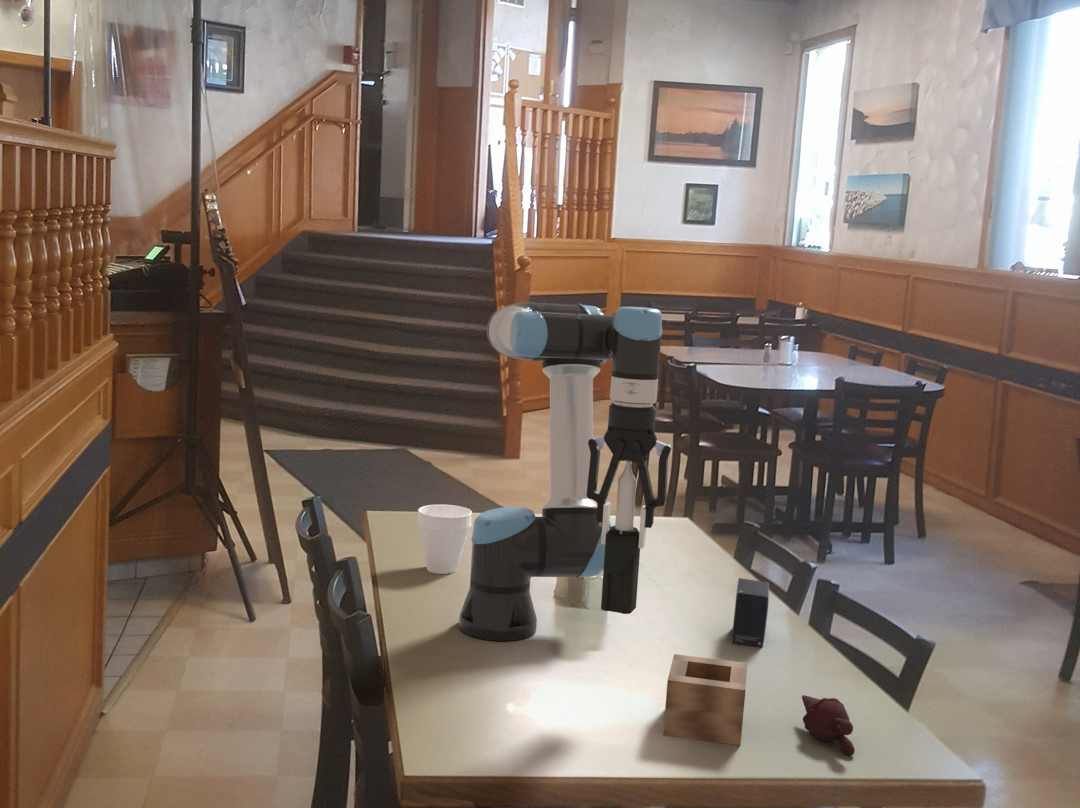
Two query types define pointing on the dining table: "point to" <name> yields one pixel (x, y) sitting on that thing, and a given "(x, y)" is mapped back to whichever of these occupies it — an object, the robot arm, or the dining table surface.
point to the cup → (443, 535)
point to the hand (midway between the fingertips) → (623, 544)
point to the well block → (705, 699)
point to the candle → (622, 551)
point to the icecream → (828, 721)
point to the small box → (750, 612)
